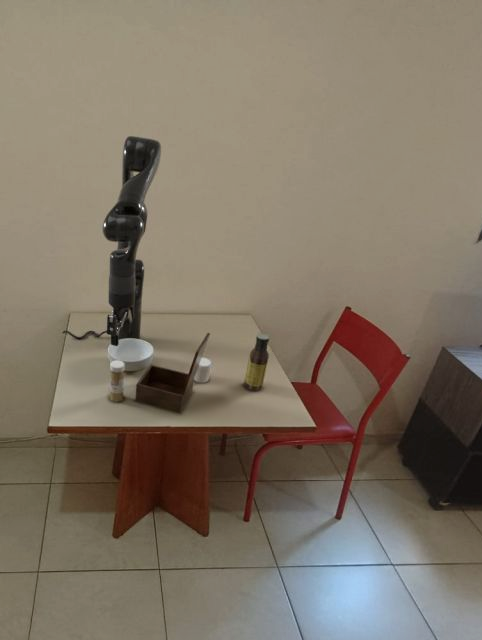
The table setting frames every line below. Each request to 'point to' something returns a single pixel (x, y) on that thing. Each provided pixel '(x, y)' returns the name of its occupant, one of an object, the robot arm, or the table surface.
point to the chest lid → (195, 363)
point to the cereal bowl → (132, 353)
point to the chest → (163, 388)
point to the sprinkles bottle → (117, 380)
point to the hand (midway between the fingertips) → (120, 338)
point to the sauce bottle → (257, 363)
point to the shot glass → (203, 370)
